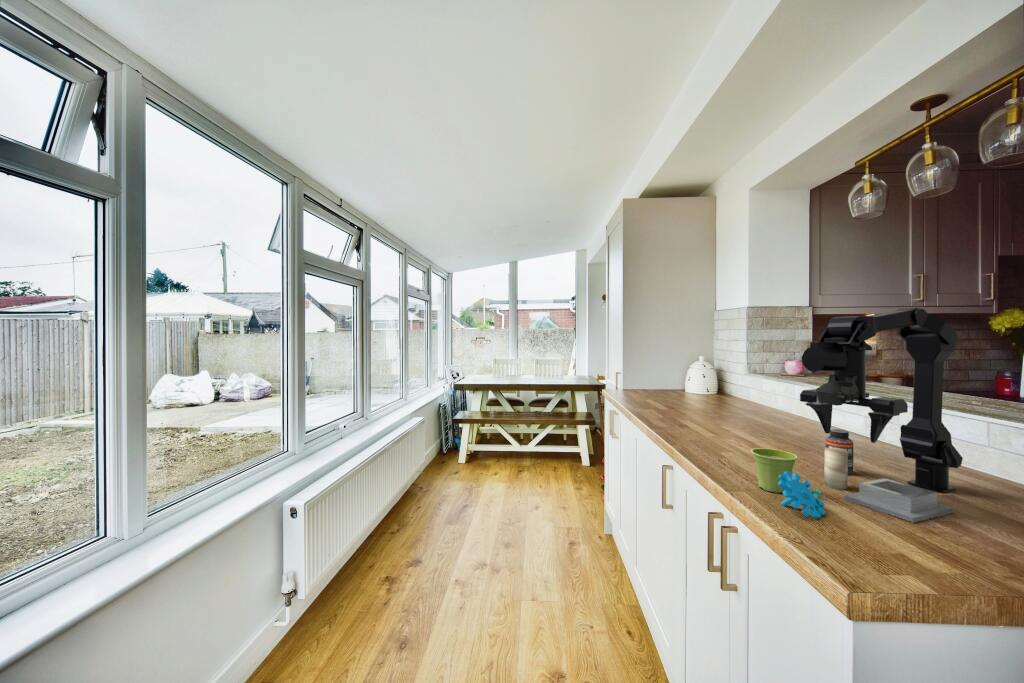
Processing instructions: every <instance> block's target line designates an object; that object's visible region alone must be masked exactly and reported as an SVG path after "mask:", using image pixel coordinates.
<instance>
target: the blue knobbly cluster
mask: <svg viewBox="0 0 1024 683" xmlns="http://www.w3.org/2000/svg"><path fill="white" fill-rule="evenodd" d="M778 477H779V478H780V479H781V481H779V482H778V485H779V486H780V487H782V488H784V489H786V490H784V491H783V492H781V493H782V496H783V497H784V498H786V499H784V500H783V501H781V505H782V506H783V507H787V506H788V505H791V506H792V507H793V509H798V508H801V507H803V509H801V513H802V515H804V516H805V517H809V516H811V517H812V518H813V519H815V518H817V519H820V518H821V517H822V516H823V515H826V511H825V510H824V509H823V508H824V507H825V505H826V504H825V502H824V501H823V500H821V499H819V497H820V496H821V494H822V491H821V490H820V489H819V488H815V489H814V490H811V489H809V488H810V487H811V486H812V484H811V483H810V482H809V481H808V479H807V480H804V481H802V482H801V481H800V480H801V479H802V476H800V475H799V474H798V473H796V472H795V473H793V472H792V473H791V472H789V471H786V472H784V473H783V474H781V475H779V476H778Z"/></svg>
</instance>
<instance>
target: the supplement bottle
mask: <svg viewBox="0 0 1024 683" xmlns="http://www.w3.org/2000/svg"><path fill="white" fill-rule="evenodd" d="M849 434H850V432H849V431H848V430H845V429H838V428H831V429H830V433H829V435H828V436H827V437H825V444H824V445H825V447H824V449H825V448H838V449H843V450H846V451H848V474H847V475H852V474H853V473H854V441H853V440H852V439H850V437H849V436H850V435H849Z"/></svg>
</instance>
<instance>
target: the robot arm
mask: <svg viewBox="0 0 1024 683" xmlns="http://www.w3.org/2000/svg"><path fill="white" fill-rule="evenodd" d="M894 329H897V335H898V336H899V337H900V338H901V339H902V340H903V341H904V342H905V350H906V351H907V353H908V354H909V356H910V357H911V358H912V359H913V362H914V364H913V365H914V369H913V370H914V371H913V391H912V392H913V393H912V394H913V395H912V396H913V397H912V418H911V419H910V420H909V421H908V423H907V424H902V425H901V426H900V436H899V442H900V444H901V449H902V452H903V456H904V458H905V459H906V458H907V459H908V458H909V459H911V460H914V479H913V480H908V481H907V485H911V486H914V487H918V488H922V489H925V490H929V491H933V492H934V491H935V492H936V493H938V492H939V493H946V492H950V491H951V492H952V491H956V490H957V486H953V485H950V481H949V480H950V477H949V476H950V468H951V469H959V468H960V467H961V466H962V463H963V456H962V455H961V454H960V453H959V452H958V450H957V449H956V447H955V446H954V445H953V444H952V442H953V441H952V435H951V432H950V431H949V430H948V428H947V426H945V424H944V423H943V390H944V388H943V386H944V367H945V366H944V365H945V362H946V361H947V359H948V358H949V357H950V356H951V355H952V354H953V353H954V352H955V349H956V342H957V341H958V333H957V331H956V330H955V329H954V328H953V327H952V326H951V325H950V324H949V323H948V322H947V321H945V320H943V319H941V318H939V317H937V316H934V315H931V314H929V313H928V312H927V311H926V309H924V308H920V307H909V308H908V307H906V308H898V309H895V310H893V311H887V312H882V313H878V314H877V313H876V314H871V315H852V316H851V315H849V316H848V315H847V316H835V317H832V318H829V322H828V324H827V325H826V326H825V328H824V330H823V331H822V334H821V335H820V336H819V338H818V340H817V341H810V342H809V347H807V348H806V349H805V350H804V351H803V352H802V356H801V363H802V365H803V367H804V368H805V370H807V371H809V372H813V373H819V372H821V373H822V372H832V373H831V374H829V376H828V381H827V382H826V383H823V384H822V385H820V386H818V387H817V388H814V389H803V390H802V391H801V392H800V394H799V401H800V402H802V403H805V404H804V405H805V406H807V407H810V408H811V409H812V410H813V411H814V412H815V414H816V416H817V418H818V419H819V421H820V425H821V426H822V429H823V431H824V433H825V434H830V429H832V418H833V417H832V416H833V406H842V405H849V406H850V405H852V406H859V407H865V408H869V409H870V410H871V411H870V412H868V413H867V414H868V417H869V418H870V433H869V434H870V436H869V438H870V442H871V443H873V444H874V443H876V442H878V439H879V437H880V436H881V434H882V433H883V431H884V429H885V428H886V426H887V425H888V423H889V422H890V421H891V420H892V419H893V417H896V416H900V414H904V413H905V414H906V413H908V412H909V411H908V406H909V404H908V403H907V402H906V401H905V399H904V398H898V397H888V396H880V397H871V398H870V393H869V392H867V389H866V381H867V380H870V375H869V374H867V373H866V351H872V350H873V347H872V346H871V345H870V344H868V343H866V341H867V340H869V339H871V338H874V337H875V336H876V335H877V333H880V332H884V331H889V330H894Z"/></svg>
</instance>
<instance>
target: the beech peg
mask: <svg viewBox="0 0 1024 683" xmlns="http://www.w3.org/2000/svg"><path fill="white" fill-rule="evenodd" d="M823 461H824V467H823V468H824V472H823V473H824V475H823V476H824V478H823V483H824V484H825V485H826V487H827V486H829V487H831V488H830V489H833V488H834V489H835V490H838V489H840V490H839V491H847V490H846V489H848V475H849V474H848V451H846V450H843V449H838V448H825V447H824V460H823ZM824 484H823V485H824ZM825 485H824V486H825ZM829 487H828V488H829ZM834 489H833V490H834Z"/></svg>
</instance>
